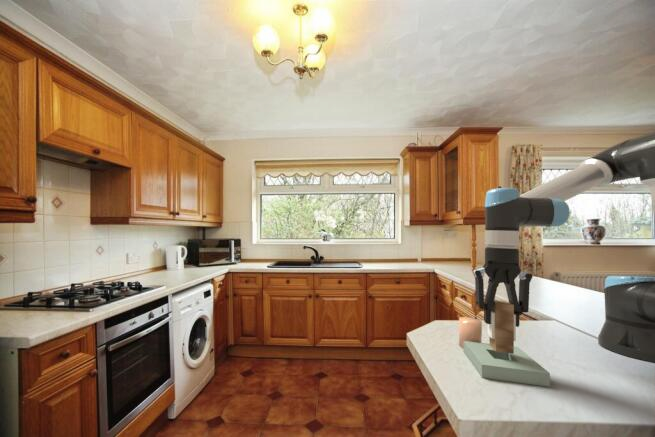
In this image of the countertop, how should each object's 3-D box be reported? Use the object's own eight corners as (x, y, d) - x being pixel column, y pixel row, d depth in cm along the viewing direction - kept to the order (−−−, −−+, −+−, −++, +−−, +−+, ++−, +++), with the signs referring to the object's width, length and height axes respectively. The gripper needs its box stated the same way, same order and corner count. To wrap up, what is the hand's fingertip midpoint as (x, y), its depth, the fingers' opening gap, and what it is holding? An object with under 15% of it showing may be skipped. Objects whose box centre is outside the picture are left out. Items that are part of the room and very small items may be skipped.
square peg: (506, 346, 69) (506, 301, 70) (513, 353, 65) (513, 305, 66) (489, 345, 70) (489, 299, 70) (495, 351, 66) (496, 303, 67)
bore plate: (517, 358, 73) (517, 346, 73) (549, 386, 59) (549, 373, 59) (463, 351, 75) (463, 341, 76) (481, 377, 62) (481, 364, 62)
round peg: (477, 344, 81) (477, 318, 82) (484, 352, 75) (485, 324, 76) (456, 341, 82) (456, 316, 83) (462, 350, 76) (462, 322, 77)
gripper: (530, 248, 71) (530, 336, 70) (462, 245, 74) (461, 328, 73) (547, 249, 63) (548, 348, 62) (471, 246, 67) (470, 339, 66)
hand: (501, 337), depth 68 cm, fingers closed on square peg, 4 cm apart
